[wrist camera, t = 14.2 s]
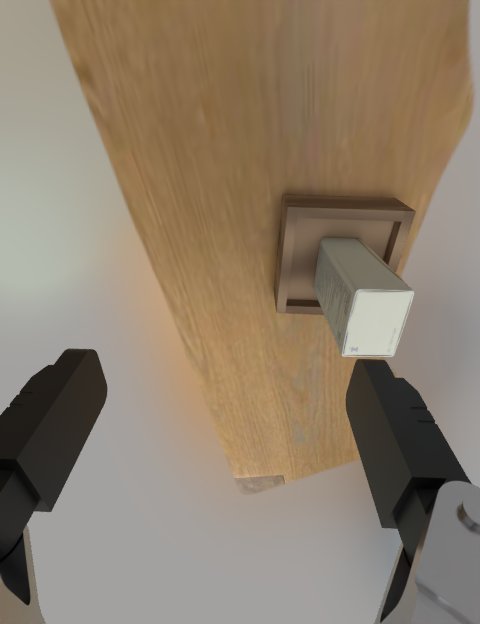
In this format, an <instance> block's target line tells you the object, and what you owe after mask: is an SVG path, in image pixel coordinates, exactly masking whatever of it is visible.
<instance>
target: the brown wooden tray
mask: <svg viewBox="0 0 480 624" xmlns="http://www.w3.org/2000/svg"><path fill="white" fill-rule="evenodd" d="M415 212H416V211H414V210H413V209H411V208H410V207H408V206H407V205H405V204H404V203H402V202H400V201H399V200H397V199H396V198H372V197H344V196H315V195H286V194H283V203H282V213H281V224H280V234H279V244H278V254H277V264H276V274H275V285H274V297H275V305H276V313H291V314H316V315H324V313H323V310H322V308H321V306H320V303H319V301H318V298H317V296H316V294H315V291H314V281H315V273H316V267H317V261H318V254H319V248H320V243H321V239H322V238H358V239H362V240H363V241H364V242H365V243H366V244H367V245H368V246H369V247H370V248H371V249H372V250H373V251H374V252H375V253H376V254H377V255H378V256H379V257H380V258H381V259H382V260H383V261H384V262H385V263H386V264H387V265H388V266H389V267H390V268H391V269H392V270H393V271H394V272H395V273H396V270H397V267H398V264H399V261H400V258H401V255H402V252H403V249H404V246H405V243H406V240H407V236H408V233H409V230H410V227H411V224H412V221H413V218H414V215H415Z"/></svg>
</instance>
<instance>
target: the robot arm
mask: <svg viewBox="0 0 480 624" xmlns="http://www.w3.org/2000/svg"><path fill="white" fill-rule="evenodd" d="M106 397H107V384H106V380H105V377H104V374H103V370H102V367H101V364H100V361H99V358H98V354H97V352H96V351H95V350H93V349H67V350H65V351H64V352H63V353H62V355H61V356H60V357H59V359H58V360H57V361H56V363H55V364H54V365H48V366H46V367H45V368H43V369H42V370H41V371H39V372H38V373H37V374H35V375H34V376H32V377H31V378H30V380H29V381H28V382H27V383H26V385H25V386H24V387H23V388H22V389H21V391H20V394H19V395H17V396H16V397H15V398H14V399H13V401H12V402H11V403H10V407H7V408H6V409H5V411H4V412H3V413H2V414H1V415H0V624H46V623H45V621H44V618H43V616H42V614H41V610H40V607H39V602H38V594H37V587H36V580H35V572H34V565H33V557H32V550H31V542H30V535H29V529H28V526H27V523H28V521H29V519H30V517H31V515H32V514H33V512H34V511H41V512H51V511H52V509H53V507H54V504H55V503H56V501H57V499H58V497H59V495H60V493H61V491H62V489H63V487H64V485H65V483H66V481H67V479H68V477H69V474H70V472H71V471H72V469H73V467H74V464H75V463H76V461H77V458H78V456H79V454H80V452H81V450H82V448H83V446H84V444H85V442H86V440H87V438H88V436H89V434H90V432H91V430H92V428H93V426H94V424H95V422H96V420H97V418H98V416H99V414H100V412H101V410H102V408H103V406H104V404H105V401H106ZM346 411H347V415H348V418H349V421H350V425H351V428H352V431H353V434H354V438H355V441H356V444H357V448H358V451H359V454H360V457H361V461H362V464H363V467H364V470H365V474H366V477H367V480H368V483H369V487H370V490H371V493H372V496H373V500H374V503H375V506H376V510H377V513H378V516H379V519H380V523H381V526H382V528H394V529H398V531H399V534H400V537H401V540H402V543H401V545H400V547H399V550H398V553H397V557H396V560H395V563H394V566H393V569H392V572H391V575H390V578H389V581H388V584H387V587H386V590H385V593H384V596H383V599H382V602H381V605H380V608H379V611H378V614H377V617H376V620H375V623H374V624H480V488H479V487H477V486H475V485H473V484H472V483H471V482H470V480H469V479H468V477H467V476H466V474H465V472H464V471H463V469H462V467H461V465H460V464H459V462H458V460H457V458H456V457H455V455H454V453H453V451H452V450H451V448H450V446H449V444H448V443H447V441H446V439H445V437H444V436H443V434H442V432H441V431H440V429H439V427H438V425H437V424H435V420H434V418H433V417H432V415H431V413H430V412H429V411H428V410H427V406H426V404H425V403H424V401H423V399H422V398H421V396H420V394H419V393H418V391H417V390H416V389H415V388H414V387H413V386H411V385H410V384H409V383H408V382H407V381H406V380H405V379H404V378H395V377H394V375H393V373H392V371H391V369H390V367H389V365H388V364H387V362H386V361H385V360H374V359H358V360H357V361H356V363H355V366H354V369H353V373H352V376H351V379H350V383H349V386H348V390H347V393H346Z"/></svg>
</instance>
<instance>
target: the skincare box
mask: <svg viewBox="0 0 480 624" xmlns="http://www.w3.org/2000/svg"><path fill="white" fill-rule="evenodd" d="M314 291H315V294H316V296H317V298H318V301H319V303H320V306H321V308H322V310H323V313H324V315H325V317H326V320H327V322H328V324H329V327H330V329H331V332H332V334H333V336H334V339H335V341H336V343H337V346H338V348H339V351H340V353H341V355H342V356H350V357H392V356H394V353H395V351H396V348H397V346H398V343H399V340H400V337H401V334H402V331H403V328H404V325H405V322H406V319H407V315H408V313H409V309H410V306H411V302H412V300H413V296H414V291H413V290H412V289H411V288H410V287H409V286H408V285H407V284H406V283H405V282H404V281H403V280H402V279H401V278H400V277H399V276H398V275H397V274H396V273H395V272H394V271H393V270H392V269H391V268H390V267H389V266H388V265H387V264H386V263H385V262H384V261H383V260H382V259H381V258H380V257H379V256H378V255H377V254H376V253H375V252H374V251H373V250H372V249H371V248H370V247H369V246H368V245H367V244H366V243H365V242H364V241H363V240H362V239H358V238H322V239H321V243H320V248H319V254H318V261H317V267H316V273H315V281H314Z"/></svg>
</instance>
